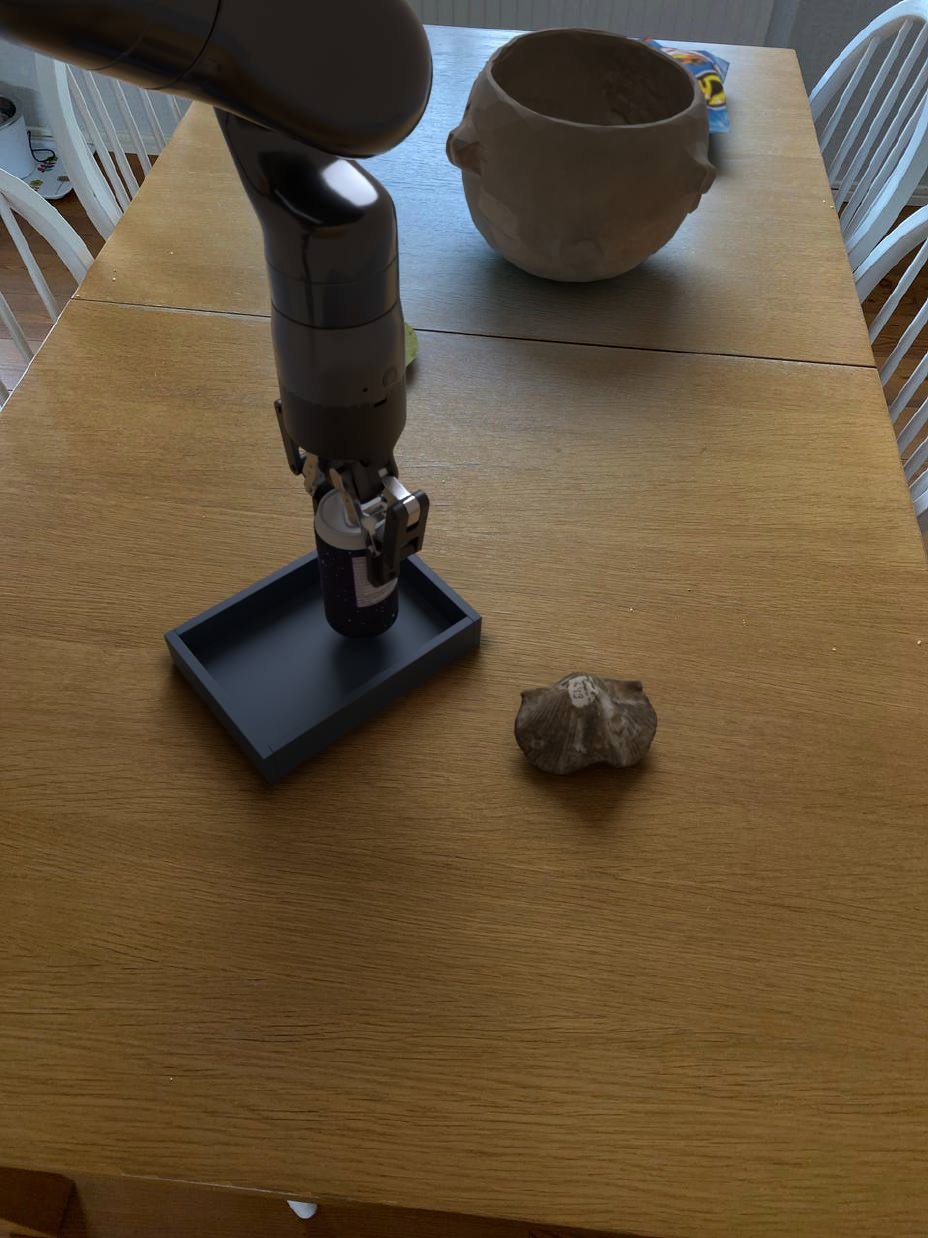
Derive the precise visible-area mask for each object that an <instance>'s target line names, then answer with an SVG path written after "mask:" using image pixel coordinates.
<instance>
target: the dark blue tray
mask: <svg viewBox="0 0 928 1238" xmlns="http://www.w3.org/2000/svg"><path fill="white" fill-rule="evenodd" d="M399 565H400V575H399V576H398V602H399V612H398V617H397V619H396V621H395V623H394V624H393V625H392V626H391V627H390V628H389V629H388V630H387V631H386V632H384V633H382V634H381V635H378V636H376V637H372V638H367V639H353V638H349V637H345V636H343V635H341V634H339V633H337V632H336V631H335V630H334V629H332V627H331V626H330V625H329V623H328V622H327V619H326V616H325V609H324V601H323V594H322V586H321V579H320V571H319V563H318V556H317V548H315V549H313V550H312V551H310V552H308V553H307V554H304V555H303V556H301V557H299V558H298V559H295V560H294V561H292V562H290V563H288V564H286V565H285V566H283V567H282V568H279V569H278V570H276V571H274V572H272V573H271V574H269V575H267V576H265V577H263V578H262V579H260V580H258V581H256V582H254V583H252V584H251V585H249V586H248V587H245V588H244V589H242V590H240V591H239V592H237V593H235V594H234V595H231V596H229V597H228V598H226V599H224V600H222V601H221V602H219V603H217V604H216V605H213V606H212V607H210V608H208V609H207V610H204V611H203V612H201V613H199V614H197V615H196V616H194V617H192V618H190V619H189V620H186V621H185V622H183V623H181V624H180V625H178V626H176V627H174V628H173V629H170V630H169V631H167V632H165V633H164V634H163V637H164V640H165V644H166V647H167V649H168V652H169V654H170V657H171V660H172V663H173V664H174V665H175V666H176V668H177V669H178V670H179V672H180V673H181V674H182V675H183V676H184V678H185V680H187V681H188V683H189V684H190V686H192V688H193V689H194V690H195V692H196V693H197V694H198V695H199V697H200V698H201V699H202V701H203V702H204V703H205V705H207V707H208V709H210V710H211V711H212V713H213V714H214V715H215V717H216V718H217V719H218V720H219V722H220V723H221V724H222V726H223V727H224V728H225V730H226V731H227V732H228V733H229V734H230V736H231V737H232V738H233V740H234V741H235V742H236V743H237V745H238V746H239V747H240V749H242V751H243V753H245V754H246V756H247V757H248V758H249V759H250V761H251V762H252V764H253V765H254V766H255V767H256V769H257V770H258V771H259V772H260V773H261V775H262V776H263V777H264V778H265V780H266V781H267V782H268V784H270V785H272V784H273V783H275V782H277V781H278V780H280V779H282V777H284V776H285V775H287V774H288V773H290V772H292V771H293V770H295V769H296V768H297V767H299V766H300V765H302V764H303V763H305V762H306V761H308V760H309V759H311V758H312V757H314V756H316V755H317V754H318V753H320V752H322V751H323V750H325V749H326V748H327V747H329V746H330V745H332V744H333V743H335V742H336V741H338V740H339V739H341V738H342V737H344V736H345V735H347V734H349V733H350V732H351V731H353V730H354V729H356V728H357V727H359V726H361V725H362V724H364V723H365V722H366V721H368V720H369V719H371V718H372V717H374V716H375V715H376V714H378V713H380V712H382V710H384V709H386V708H387V707H389V706H391V705H392V704H393V703H394V702H396V701H398V700H400V699H401V698H403V697H404V696H405V695H407V694H408V693H410V692H412V691H413V690H415V689H416V688H417V687H419V686H420V685H421V684H422V685H423V683H425V682H426V681H428V680H429V679H431V678H432V677H434V676H435V675H437V674H438V673H440V672H441V671H443V670H444V669H446V668H447V667H449V666H450V665H452V664H453V663H455V662H457V661H458V660H459V659H461V658H462V657H464V656H466V655H467V654H468V653H470V652H471V651H473V650H475V649H476V648H477V647H479V646H480V645H481V638H482V637H481V635H482V623H483V617H482V616H481V614H480V613H479V612H478V611H476V610H475V609H474V608H473V607H472V606H471V604H469V603H468V602H467V601H466V600H465V599H464V598H463V597H462V596H461V595H460V594H458V592H456V591H455V590H454V589H453V588H452V587H451V586H450V585H449V584H448V583H447V582H446V581H445V580H444V579H443V578H442V577H440V575H439V574H437V573H436V572H435V571H434V570H433V569H432V568H431V567H429V565H428V564H427V563H425V562H424V561H423V560H422V559H421V558H420V557H419V556H418V555H417V553H415V554H412V555H411V556H409V557H407V558H405V559H404V560H402V561H400V564H399Z"/></svg>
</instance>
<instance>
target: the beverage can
mask: <svg viewBox="0 0 928 1238" xmlns="http://www.w3.org/2000/svg"><path fill="white" fill-rule="evenodd" d="M382 496H383V494H382V495H380V496H379V497H377V498H376V499H374V500H372V501H370V502H368V503H366V504H363V505H360V506H361V509H362V510H364V509H366V508H368V507H370V506H371V505H373V504H375V503H377V502H379V501H380V500H381V499H382ZM384 528H385V519H384V520H382V521H380V522H378V523H377V524H376V525H375V531H376V534H377V535H378V534H380V533H382V532H384ZM313 532H314V540H315V549H317V556H318V563H319V571H320V579H321V586H322V594H323V601H324V609H325V616H326V619H327V622H328V623H329V625H330V626H331V627H332V629H334V630H335V631H336V632H337V633H339V634H341V635H343V636H345V637H349V638H353V639H367V638H372V637H376V636H378V635H381V634H382V633H384V632H386V631H387V630H388V629H389V628H390V627H391V626H392V625H393V624H394V623H395V621H396V619H397V617H398V612H399V602H398V577H397V578H395V579H394V580H392V581H390V582H389V583H387V584H385V585H384V586H380V587H378V588H374V587H373V586H372V585H371V584H370V583H369V582H368V579H367V566H366V552H365V549H366V545H365V542H364V539H363V536H362V533H361V530H360V528H358V527H356V526H354V525H352V524H351V522H350V520H349V517H348V514H347V511H346V508H345V505H344V502H343V499H342V496H341V493H340V491H339V490H337V489H336V488H335V489H333V490H331V491H330V492H328V493H327V494H326V495H325V496H324V497H323V498H322V499H321V501H320V503H319V506H318V511H317V513H316V515H315V518H313Z"/></svg>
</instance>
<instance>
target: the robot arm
mask: <svg viewBox="0 0 928 1238" xmlns="http://www.w3.org/2000/svg"><path fill="white" fill-rule="evenodd" d="M0 40H1V41H3V42H5V43H8V44H11V45H14V46H16V47H18V48H21V49H24V50H27V51H29V52H31V53H35V54H38V55H40V56H43V57H46V58H48V59H52V60H55V61H58V62H60V63H63V64H66V65H69V66H72V67H75V68H77V69H82V70H85V71H88V72H91V73H94V74H97V75H100V76H103V77H106V78H109V79H112V80H116V81H119V82H121V83H124V84H127V85H131V86H134V87H137V88H140V89H143V90H146V91H150V92H154V93H158V94H162V95H168V96H173V97H178V98H182V99H185V100H189V101H194V102H198V103H202V104H205V105H209V106H212V109H213V112H214V115H215V118H216V121H217V123H218V126H219V128H220V131H221V134H222V137H223V139H224V142H225V144H226V147H227V149H228V152H229V155H230V157H231V159H232V162H233V165H234V167H235V170H236V172H237V175H238V177H239V179H240V183H241V185H242V187H243V190H244V192H245V194H246V196H247V198H248V201H249V203H250V204H251V206H252V209H253V211H254V214H255V216H256V218H257V220H258V223H259V226H260V229H261V238H262V245H263V256H264V262H265V269H266V277H267V283H268V291H269V296H270V297H269V298H270V334H271V343H272V349H273V355H274V363H275V369H276V370H275V371H276V377H277V383H278V389H279V398H278V399H276V400H274V401H273V407H274V411H275V415H276V420H277V423H278V427H279V431H280V435H281V439H282V443H283V444H282V445H283V447H284V452H285V456H286V459H287V463H288V464H287V465H288V467H289V469H290V471H291V472H292V474H293V475H294V476H296V477H298V476H300V475H302V476H303V478H304V481H303V487H304V490H305V492H306V493H307V494H308V495H309V496H310V497H311V502H312V510H313V511H312V512H313V517H314V518H315V515H316V513H317V511H318V506H319V503H320V501H321V499H322V498H323V497H324V496H325V495H326V494H327V493H328V492H330V491H331V490H333V489H335V488H336V489H337V490H339V491H340V493H341V496H342V499H343V502H344V505H345V508H346V511H347V514H348V517H349V520H350V522H351V524H352V525H354V526H356V527H358V528H360V530H361V533H362V536H363V539H364V542H365V545H366V549H365V552H366V566H367V579H368V582H369V583H370V584H371V585H372V586H373V587H374V588H378V587H380V586H384V585H385V584H387V583H389V582H390V581H392V580H394V579H395V578H397V577H398V576H399V575H400V565H399V564H400V561H402V560H404V559H405V558H407V557H409V556H411V555H412V554H417V553H419V552H421V551H422V550H423V546H424V545H423V544H424V541H425V540H424V538H425V533H426V528H427V523H428V516H429V511H430V506H431V502H430V499H429V496H428V494H427V493H426V492H425V491H424V490H423V489H420V488H419V489H417V490H415V491H413V492H412V493H410V492H409V491H408V490H407V489H406V487H404V485H403V483H401V482H400V480H399V477H400V473H399V467H398V465H397V461H396V458H395V455H394V450H395V447H396V446H397V443H398V441H399V439H400V438H401V436H402V433H403V432H404V430H405V427H406V424H407V419H408V418H407V417H408V409H407V405H408V404H407V366H406V352H405V324H404V321H405V317H404V311H403V306H402V300H401V299H402V298H401V288H400V285H401V284H400V281H401V280H400V247H399V245H400V244H399V243H400V242H399V241H400V240H399V221H398V213H397V207H396V205H395V202H394V200H393V198H392V195H391V194H390V192H389V190H388V189H387V188H386V186H385V185H384V184H383V183H382V182H381V181H379V179H377V178H376V177H375V176H374V175H373V174H372V173H371V172H369V171H368V170H367V169H366V168H364V166H363V165H361V163H359V161H363V160H364V161H365V160H369V159H374V158H376V157H380V156H383V155H385V154H387V153H389V152H391V151H392V150H394V149H395V148H397V147H398V146H399V145H401V144H402V143H404V142H405V141H406V139H407V138H408V137H409V136H410V135H412V133H413V132H414V131H415V129H416V128H417V126H418V125H419V124H420V122H421V121H422V119H423V116H424V115H425V112H426V110H427V108H428V105H429V102H430V98H431V94H432V88H433V81H434V62H433V55H432V49H431V48H432V47H431V44H430V41H429V37H428V34H427V31H426V29H425V27H424V24H423V22H422V20H421V18H420V16H419V15H418V13H417V11H416V10H415V8H414V7H413V6H412V4H411V3H410V1H408V0H0ZM300 449H302V450H303V451H304V452H302V453H300ZM382 494H383V496H382V499H381V500H380V501H379V502H377V503H375V504H373V505H371V506H370V507H368V508H366V509H364V510H362V509H361V506H360V505H363V504H366V503H368V502H370V501H372V500H374V499H376V498H377V497H379V496H380V495H382ZM314 518H313V519H314ZM384 519H385V528H384V532H382V533H380V534H378V535H377V534H376V531H375V525H376V524H377V523H378V522H380V521H382V520H384Z"/></svg>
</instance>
